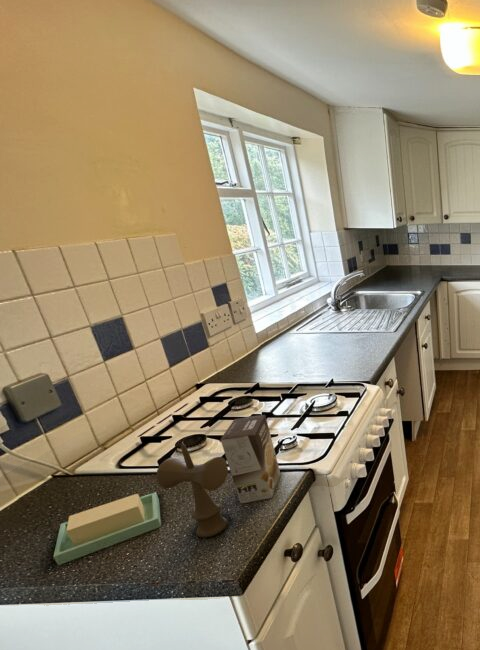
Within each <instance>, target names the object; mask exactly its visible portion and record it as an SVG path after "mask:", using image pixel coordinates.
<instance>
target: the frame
mask: <svg viewBox="0 0 480 650" xmlns="http://www.w3.org/2000/svg"><path fill="white" fill-rule="evenodd" d="M139 497H140V499H141V502H142V504H143V506H144V509H145V521H144V522H142V523H139V524H136V525H133V526H131V527H128V528H125V529H122V530H120V531H117V532H114V533H111V534H109V535H106V536H103V537H100V538H98V539H95V540H92V541H90V542H87V543H84V544H81V545H79V546H76V547H75V546H74V544H73V543H72V541H71V539H70V537H69V535H68V533H67V532H66V530H67V525H68V521H65V522H63V523H60V526H59V530H58V535H57V538H56V544H55V549H54V552H53V559H54V561H55V562H56V564H57V566H61V565H63V564H66V563H69V562H71V561H74V560H77V559H79V558H82V557H85V556H86V555H90V554H92V553H95V552H97V551H100V550H103V549H106V548H108V547H111V546H114V545H116V544H119V543H121V542H125V541H127V540H129V539H132V538H135V537H137V536H140V535H143V534H145V533H148V532H152V531H154V530H156V529H158V528H161V527H162V520H161V509H160V508H161V507H160V499H159V497H158V494H157V492H156V491H154V492H152V493H149V494H146V495H141V496H139Z"/></svg>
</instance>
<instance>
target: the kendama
mask: <svg viewBox="0 0 480 650" xmlns="http://www.w3.org/2000/svg"><path fill="white" fill-rule="evenodd" d="M180 449H181V453H182V457H183V459H181V458H180V457H179V456H171V457H168V458H167V459H164V460H163V461H162V462H161V463H160V464H159V465H158V468H157V470H156V481H157V483H158V485H159V486H160V487H161V488H163V489H171V488H174V487H176V486H177V485H179V484H181V483H187V482H190V483H191V487H192V488H191V489H192V491H193V492H192V493H193V497H194V511H193V512H192V514H191V517H192V519H193V520H195V521H196V522H197V525H198V526H197V528H196V531H195V535H196V536H197V537H198V538H211V537H214V536H216V535H219V534H220V533H222V532H223V531H224V530H225V529H226V528H227V526H228V525H229V520H228V519H227V518H226V517H225V516H222V514H221V512H220V511H221V509H222V505H221V504H220V503H216V502H214V500H213V499H212V497H211V496H210V495H209V493H208V491H209V492H212V491H216V490H218V489H219V488H221V487H222V485H223V484H224V483H225V482H226V480H227V477H228V473H229V466H228V462H227V460H226V459H225V458H224V457H222V456H214V457H212V458H210V459H209V460H206V461H205V462H204V463H200V464H198V463H197V464H195V463H194V462H193V460H192V457H191V454H190V452H189V450H188V448H187V446H186V444H185V443H183V442H182V443H180Z"/></svg>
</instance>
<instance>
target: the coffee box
mask: <svg viewBox="0 0 480 650" xmlns="http://www.w3.org/2000/svg"><path fill="white" fill-rule="evenodd" d="M219 440H220V442H221V445H222V448H223V452H224V455H225V458H226V459H225V460H226V463H227V466H228V469H229V472H230V475H231V478H232V481H233V485H234V488H235V490H236V494H237V496H238V500H239V503H240V504H246V503H252V502H258V501H262V500H268V499H272V498H273V495H274V493H275V491H276V487H277V485H278V482H279V479H280V476H281V471H280V466H279V463H278V458H277V454H276V450H275V446H274V443H273V440H272V435H271V432H270V427H269V424H268V420H267V415H266V414H259V415H252V416H251V415H250V416H247V417H246V416H245V417H242V418H241V417H240V418H234V419H233V421H232V422H231V424H229V426H228V427H227V429H226V431H225V432H224V434H222V436H221V437H220V439H219Z"/></svg>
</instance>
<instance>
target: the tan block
mask: <svg viewBox="0 0 480 650" xmlns="http://www.w3.org/2000/svg"><path fill="white" fill-rule="evenodd" d="M140 497H141V496H140V495H139V493H135V494H131V495H129V496H126V497H122V498H120V499H117V500H114V501H111V502H108V503H105V504H102V505H101V504H100V505H99V506H95V507H93V508H89V509H86V510H83V511H81V512H77V513H74V514H72V515H69V516H68V521H67V522H68V525H67V530H66V532H67V533H68V535H69V537H70V539H71V541H72V543H73V544H74V546H75V547H76V546H79V545H81V544H84V543H87V542H90V541H92V540H95V539H98V538H100V537H103V536H106V535H109V534H111V533H114V532H117V531H120V530H122V529H125V528H128V527H131V526H133V525H136V524H139V523H142V522H144V521H145V509H144V506H143V504H142V502H141V499H140Z"/></svg>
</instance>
